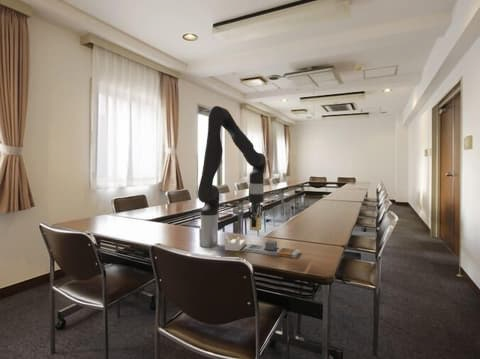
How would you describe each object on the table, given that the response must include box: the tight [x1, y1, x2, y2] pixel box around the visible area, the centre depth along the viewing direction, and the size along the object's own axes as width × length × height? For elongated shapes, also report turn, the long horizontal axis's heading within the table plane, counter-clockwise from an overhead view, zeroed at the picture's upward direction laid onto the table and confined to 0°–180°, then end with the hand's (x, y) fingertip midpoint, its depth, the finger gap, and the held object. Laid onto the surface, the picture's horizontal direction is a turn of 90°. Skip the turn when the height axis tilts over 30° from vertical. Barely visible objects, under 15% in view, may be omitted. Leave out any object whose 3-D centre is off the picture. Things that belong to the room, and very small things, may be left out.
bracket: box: [224, 236, 246, 252], centre depth 145 cm, size 13×7×8 cm, turn 164°
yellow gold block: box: [249, 216, 262, 232], centre depth 139 cm, size 4×4×6 cm
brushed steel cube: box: [264, 240, 278, 252], centre depth 136 cm, size 4×4×5 cm
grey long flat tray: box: [243, 243, 300, 259], centre depth 136 cm, size 26×9×3 cm, turn 65°
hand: (255, 226), depth 139 cm, fingers closed on yellow gold block, 4 cm apart
